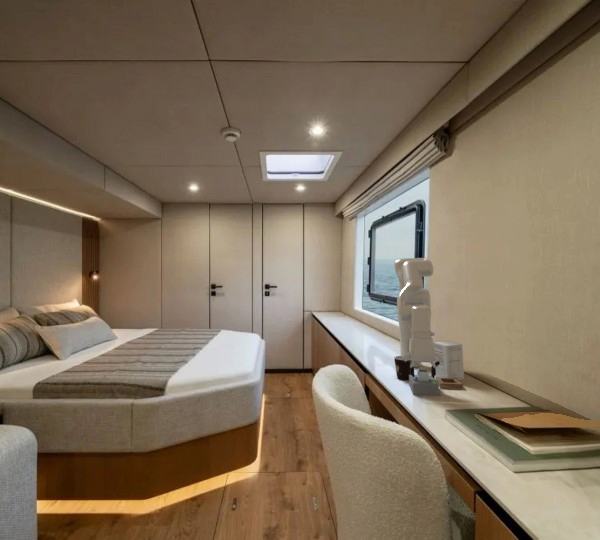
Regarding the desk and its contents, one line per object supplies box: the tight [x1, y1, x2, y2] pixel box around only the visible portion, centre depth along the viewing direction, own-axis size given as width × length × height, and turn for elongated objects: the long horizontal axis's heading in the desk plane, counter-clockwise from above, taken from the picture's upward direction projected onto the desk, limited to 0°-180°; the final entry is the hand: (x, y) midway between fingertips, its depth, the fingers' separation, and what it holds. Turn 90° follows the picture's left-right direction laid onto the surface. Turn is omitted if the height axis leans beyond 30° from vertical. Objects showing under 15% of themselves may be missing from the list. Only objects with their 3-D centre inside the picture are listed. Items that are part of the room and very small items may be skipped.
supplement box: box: [433, 340, 465, 381], centre depth 153 cm, size 10×9×17 cm
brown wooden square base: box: [435, 376, 464, 390], centre depth 141 cm, size 9×9×2 cm
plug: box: [416, 367, 429, 382], centre depth 136 cm, size 4×4×9 cm
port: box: [408, 374, 440, 397], centre depth 136 cm, size 12×10×5 cm
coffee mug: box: [394, 355, 411, 381], centre depth 155 cm, size 12×9×10 cm
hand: (422, 376), depth 136 cm, fingers open, 7 cm apart
